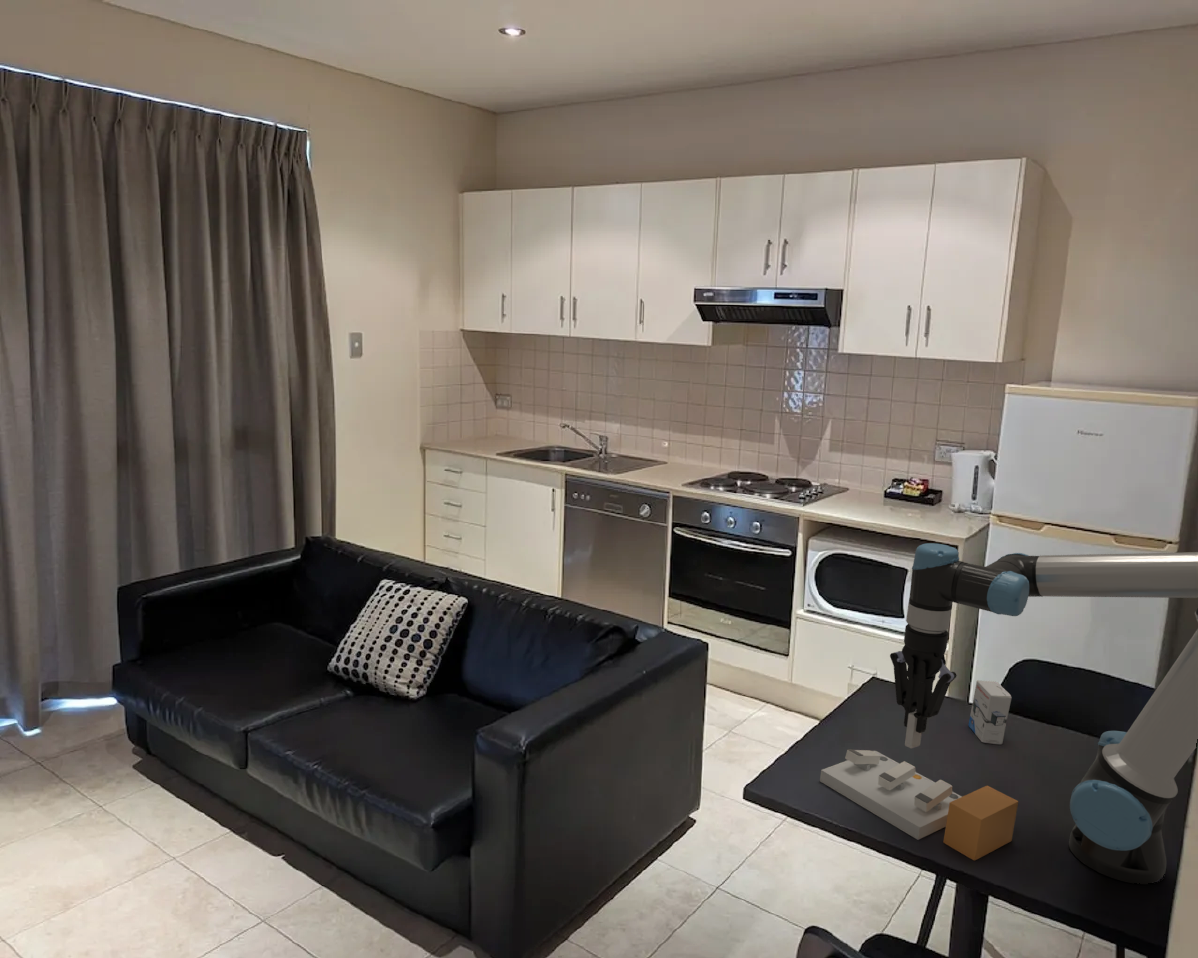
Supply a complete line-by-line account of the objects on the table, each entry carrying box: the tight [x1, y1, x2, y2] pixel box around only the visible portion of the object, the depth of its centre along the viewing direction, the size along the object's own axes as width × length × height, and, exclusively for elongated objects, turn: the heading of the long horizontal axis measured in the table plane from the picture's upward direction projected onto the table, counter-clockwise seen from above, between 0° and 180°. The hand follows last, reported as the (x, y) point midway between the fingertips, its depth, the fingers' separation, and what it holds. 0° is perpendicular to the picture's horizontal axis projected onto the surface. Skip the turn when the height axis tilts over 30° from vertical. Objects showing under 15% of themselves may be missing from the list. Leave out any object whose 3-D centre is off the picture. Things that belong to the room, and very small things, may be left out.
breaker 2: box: [878, 760, 916, 790], centre depth 175 cm, size 3×8×2 cm, turn 126°
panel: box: [819, 750, 963, 841], centre depth 176 cm, size 23×17×4 cm
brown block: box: [942, 785, 1019, 861], centre depth 162 cm, size 6×12×8 cm, turn 126°
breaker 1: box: [844, 748, 881, 764], centre depth 182 cm, size 3×8×2 cm, turn 125°
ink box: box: [968, 679, 1012, 745], centre depth 205 cm, size 9×5×12 cm, turn 179°
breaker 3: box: [914, 779, 953, 812], centre depth 169 cm, size 3×8×2 cm, turn 125°
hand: (912, 745), depth 170 cm, fingers closed
